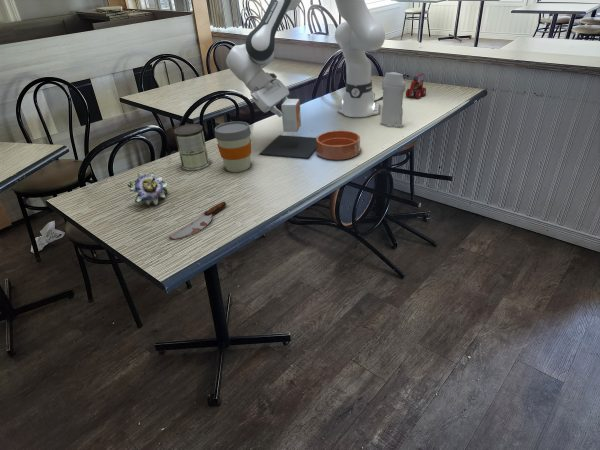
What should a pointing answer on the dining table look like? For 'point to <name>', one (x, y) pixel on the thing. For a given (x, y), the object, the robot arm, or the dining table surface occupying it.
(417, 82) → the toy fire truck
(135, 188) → the passion flower
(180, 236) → the kitchen knife
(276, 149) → the mat
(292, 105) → the small box
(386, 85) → the tall pale column
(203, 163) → the coffee can
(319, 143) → the bowl
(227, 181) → the dining table surface
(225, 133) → the reusable coffee cup
